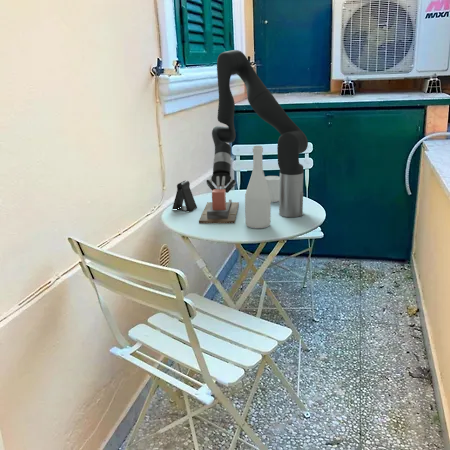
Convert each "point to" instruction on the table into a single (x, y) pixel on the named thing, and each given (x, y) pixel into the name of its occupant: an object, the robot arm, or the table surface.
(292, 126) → the robot arm
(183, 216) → the table surface
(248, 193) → the wine bottle
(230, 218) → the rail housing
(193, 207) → the black a-frame stand
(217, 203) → the orange upright block
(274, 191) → the mug
